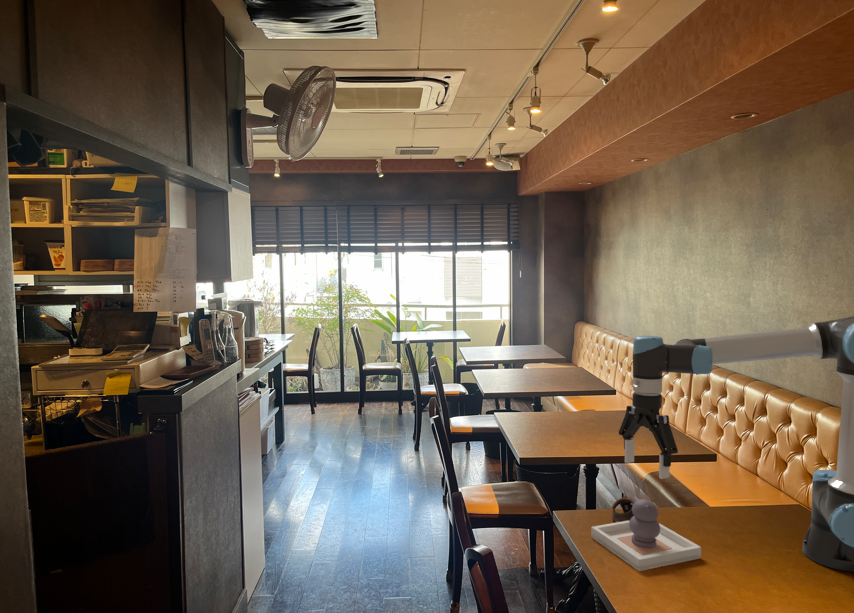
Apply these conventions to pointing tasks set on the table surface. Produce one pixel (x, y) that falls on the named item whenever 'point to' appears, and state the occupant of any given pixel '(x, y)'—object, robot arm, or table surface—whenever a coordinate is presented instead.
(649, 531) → the cat figurine
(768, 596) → the table surface
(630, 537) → the tray
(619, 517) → the pottery mug
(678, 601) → the table surface
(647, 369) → the robot arm
